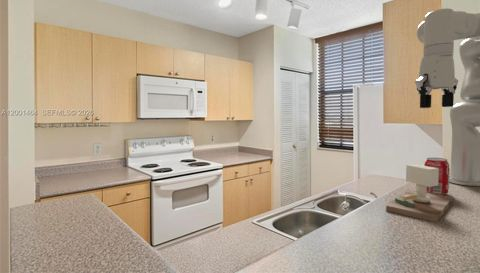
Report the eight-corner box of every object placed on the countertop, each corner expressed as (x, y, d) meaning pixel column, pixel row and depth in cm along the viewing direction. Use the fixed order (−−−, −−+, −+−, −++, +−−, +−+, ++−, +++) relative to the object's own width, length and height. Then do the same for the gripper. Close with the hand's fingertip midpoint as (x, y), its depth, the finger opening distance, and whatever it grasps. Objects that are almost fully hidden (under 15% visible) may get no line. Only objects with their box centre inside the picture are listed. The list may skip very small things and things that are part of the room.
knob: (415, 196, 84) (416, 164, 83) (438, 202, 77) (439, 168, 76) (393, 199, 81) (394, 166, 80) (415, 206, 74) (416, 170, 73)
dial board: (408, 194, 92) (408, 186, 92) (452, 201, 83) (453, 193, 83) (386, 210, 77) (386, 202, 77) (436, 222, 68) (437, 212, 68)
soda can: (439, 190, 95) (441, 157, 94) (453, 196, 88) (455, 160, 87) (419, 190, 96) (420, 157, 95) (431, 196, 89) (432, 160, 88)
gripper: (445, 55, 89) (443, 106, 91) (406, 54, 84) (405, 108, 85) (470, 50, 82) (468, 106, 84) (429, 48, 77) (428, 108, 78)
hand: (436, 107), depth 85 cm, fingers open, 9 cm apart
